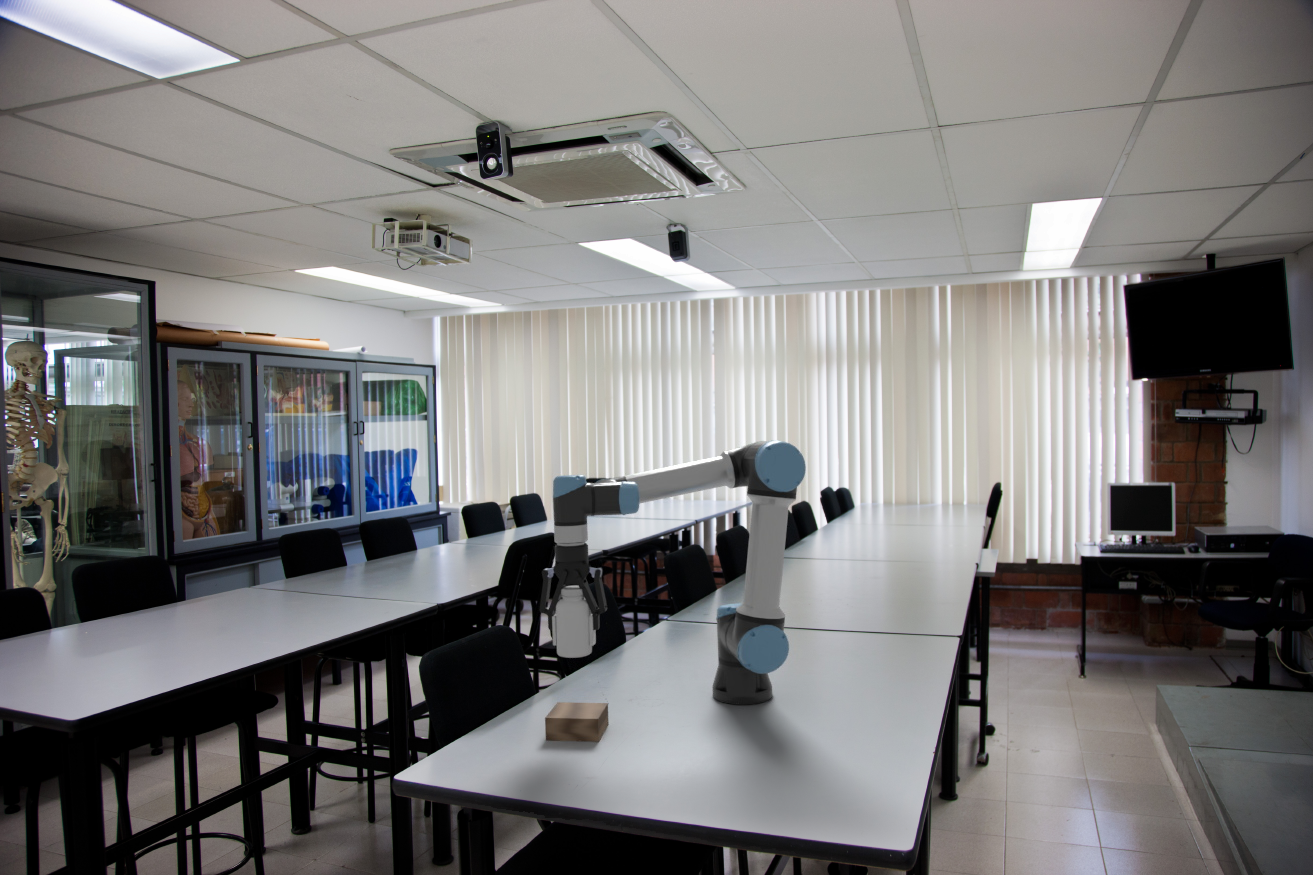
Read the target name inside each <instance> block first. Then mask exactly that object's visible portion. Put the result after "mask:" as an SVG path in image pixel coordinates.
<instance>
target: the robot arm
mask: <svg viewBox="0 0 1313 875" xmlns="http://www.w3.org/2000/svg"><path fill="white" fill-rule="evenodd" d="M806 467H807V466H806V461H805V458H804V456H803V453H801V451H800V450H799V449H798V448H797V447H796V446H794V445H793V444H791V443H789V442H786V441H783V440H782V441H781V440H778V439H777V440H773V439H772V440H766V441H765V440H760V441H755V442H751V443H749V444H746V445H743V446H741V447H737V448H733V449H730V450H724V451H722V452H721V454H720V455H719V456H716V457H710V458H705V459H700V460H695V461H690V462H685V463H681V464H675V465H671V466H666V467H661V468H656V469H652V470H651V469H650V470H646V471H642V472H641V471H640V472H635V473H632V474H628V475H627V474H626V475H623V476H616V477H613V478H602V479H599V480H597V481H596V482H594V483H593V482H588V481H587V477H586V476H585V475H584V474H566V475H565V474H564V475H558V476H555V478H554V479H553V480H552V481H553V482H552V485H553V486H552V503H553V504H552V505H553V506H552V508H553V510H552V511H553V537H554V543H556V545H555V546H554V566H553V567H551V568H548V567H546V568H544V569H543V570H541V577H542V580H543V581H542V585H541V586H542V587H541V588H542V589H541V595H540V603H539V613H540V614H545V615H546V616H547V626H548V627H547V628H548V631H552V646H557V635H556V604H557V602H558V601H559V600H561V599H562V595H561V590H562V588H564V587H566V586H571V585H572V586H579V588H580V589H582V593H583V595H584V598H585V599H586V602H587V604H588V606H589V608H590V610H591V616H589V633H590V646H592V647H594V645H596V643H597V635H596V634H597V633H596V631H597V630H599V629H600V627H601V624H600V623H601V621H600V615H601V614H605V612H606V611H607V610H608V605H607V604H608V603H607V598H606V594H605V589H604V588H605V587H604V583H603V579H602V577H603V572H604V570H603V568H602V567H597V568H596V567H592V566H591V565H590V563H589V545H588V543H586V542H588V538H589V536H588V535H589V534H588V517H595V516H617V515H618V516H621V515H622V516H626V515H630V514H631V515H634V514H636V513H638V512H639V510H640V504H644V503H648V502H654V501H659V500H663V499H667V498H673V497H678V496H682V495H686V494H688V495H689V494H692V493H697V492H701V491H705V490H707V491H708V490H712V489H715V488H716V489H717V488H721V487H727V488H729V489H735V488H742V487H744V488H745V487H746V488H747V491H746V496H747V497H748V499H750V501H751V504H752V506H751V515H750V526H749V535H748V536H749V538H748V546H747V558H746V567H745V580H744V591H743V600H742V602H741V603H739V602H738V603H729V604H722V605H720V606H718V607H717V610H716V618H715V620H716V631H717V633H716V634H717V658H718V659H717V660H718V661H717V662H718V665H717V670H716V673H715V676H714V680H713V683H712V686H711V687H712V697H713V698H714V699H715V700H716V701H718V702H721V703H725V704H730V705H739V706H740V705H742V706H743V705H744V706H745V705H754V704H755V705H756V704H760V703H763V702H767V701H769V700H771V698H772V697H773V684H772V681H771V679H770V676H769V674H770V673H773V672H775V671H776V670H779V668H780V667H782V666H783V664H785V662H786V661H787V659H788V655H789V651H790V644H789V640H788V637H787V635H786V633H785V621H786V620H785V618H786V614H785V612H783V610H782V609H781V607H780V605H781V604H780V603H781V595H782V594H781V593H782V582H783V570H784V560H785V551H786V550H785V548H786V539H787V529H788V527H787V526H788V517H789V508H790V506H791V505H792V504H793V503H794V502H796V500H797V491H798V487H799V486H800V484H801V483H802V482H803V480H804V478H805V476H806ZM554 574H555V576H556V577H557V578H558V583H557V585H556V589H555V592H554V594H553V596H552V599H551V602H550V605H549V600H550V593H551V586H552V585H551V583H552V578H553V577H554ZM589 574H591V577H592V578H593V582H594V587H595V594H596V598H597V602H596V599H595V597H594V595H593V593H592V591H591V588H590V586H589V582H588V580H587V577H588V575H589ZM597 603H598V604H597Z"/></svg>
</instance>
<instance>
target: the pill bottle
mask: <svg viewBox="0 0 1313 875" xmlns="http://www.w3.org/2000/svg"><path fill="white" fill-rule="evenodd" d="M561 595H562V596H561V598H560V600H559V601H558V602H557V604H556V612H555V614H556V635H557V645H556V654H557V655H558V656H559V657H561V658H569V659H571V658H572V659H573V658H575V659H576V658H583V657H587V656H589V655H590V654H592V652H593V646H590V633H589V616H591V614H592V613H591V610H590V608H589V606H588V604H587V602H586V599H585V597H584V595H583V593H582V589H580V588H579V585H566V586H565V587H564V588H562V590H561Z"/></svg>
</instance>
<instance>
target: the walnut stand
mask: <svg viewBox="0 0 1313 875" xmlns="http://www.w3.org/2000/svg"><path fill="white" fill-rule="evenodd" d="M544 722H545V723H544V725H545V726H544V727H545V730H544V731H545V741H546V742H547V741H548V742H549V741H550V742H552V741H553V742H556V741H557V742H584V743H585V742H592V743H594V742H595V743H599V742H600V741H601V739H602V737H603V735H604V733H605V732H606V730H607V728H608V726H609V704H608V702H566V701H565V702H561V701H558V702H557V703H555V705H554V706H553V708H552V709H551V710H550V711H549V712H548V714H547V715H546V716H545V717H544Z"/></svg>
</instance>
